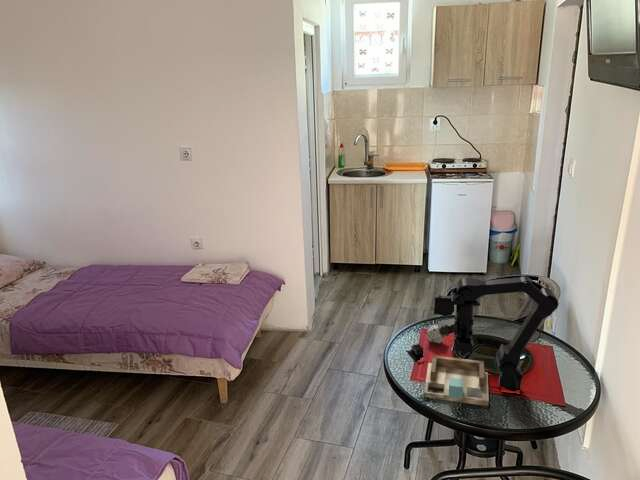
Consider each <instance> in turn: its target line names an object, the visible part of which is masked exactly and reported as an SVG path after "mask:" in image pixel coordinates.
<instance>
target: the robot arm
mask: <svg viewBox="0 0 640 480" xmlns="http://www.w3.org/2000/svg"><path fill="white" fill-rule="evenodd" d="M513 293H524V294H526V295H527V296H528V297H529V298H530V299H532V304H531V307H530V311H529V312H528V314H527V316H526V317H525V318H524V320H523V322H522V323H521V325H520V327H519V328H518V330H517V331H516V332H515V334H514V336H513V338H512V339H511V341H510V342H509V343H508V344H506V345H505V344H503V343H501V345H500V346H499V348H498V350H496V352H495V353H496V361H497V364H498V369H499V370H500V373H499V378H498V387H499V386H501V387H504V388H506V389H508V390H511V391H516V390H521V386H522V379H523V377H524V375H523V371H522V368H521V364H520V360H521V355H522V352H523V351H524V349H525V347H526V346H527V345H528V343H529V342H530V340H531V339H532V337H533V336H534V334H535V332H536V331H537V329H538V328H539V326H540V325H541V323H542V322H543V320H545V319H546V318H548V317H551V315H552V314H553V313H554V312H555V311H556V310H558V308H559V300H558V298H557V297H556V294H555V292H554V291H553V290H552V288H549V287H545V286H543V285H541V284H540V283H539V282H536V281H534V280H532V279H531V278H530V277H529V276H524V275H523V276H520V277H510V278H500V279H489V280H483V279H482V280H481V279H478V278H474V277H473V278H472V277H470V278H469V277H463V278H461V279H459V280H458V281H457V283H456V286H455V287H454V288H453V289H452V291H451V292H450V295H441V294H434V301H433V316H435V315H436V316H453V314H454V313H455V315H454V318H449V319H444V320H440V321H438V324H437V325H438V328H439V333H440V334H441V335H442V336H444V335H448V336H449V335H451V334H453V336H454V340H453V350H454V351H456V352H460V356H462V357H465V356H466V354H467V353H474V351H475V349H474V348H475V345H474V344H475V343H474V340H473V336H474V331H473V327H474V315H475V314H474V312H475V307H480V306H481V302H480V298H482V297H484V296H488V295H489V296H490V295H500V294H513Z"/></svg>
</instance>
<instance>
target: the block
mask: <svg viewBox="0 0 640 480" xmlns="http://www.w3.org/2000/svg"><path fill="white" fill-rule="evenodd" d="M449 397H454V398H461V399H462V397H463V379H456V378H450V381H449Z"/></svg>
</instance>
